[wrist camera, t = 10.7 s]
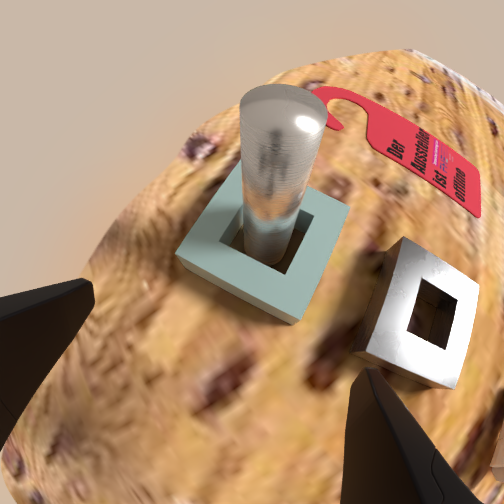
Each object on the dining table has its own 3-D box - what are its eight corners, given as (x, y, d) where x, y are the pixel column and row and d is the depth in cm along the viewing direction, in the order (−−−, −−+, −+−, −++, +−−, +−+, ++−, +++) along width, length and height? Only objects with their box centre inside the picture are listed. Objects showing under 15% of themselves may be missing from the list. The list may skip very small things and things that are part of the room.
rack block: (292, 325, 19) (300, 320, 16) (184, 267, 20) (174, 253, 17) (338, 225, 22) (350, 206, 19) (242, 180, 23) (242, 157, 20)
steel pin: (263, 274, 20) (284, 149, 8) (235, 244, 21) (221, 102, 9) (294, 248, 21) (344, 114, 9) (266, 220, 22) (283, 76, 9)
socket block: (432, 388, 16) (454, 389, 14) (349, 352, 18) (365, 351, 15) (458, 294, 19) (479, 285, 16) (386, 251, 21) (403, 236, 18)
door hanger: (480, 220, 22) (294, 111, 27) (478, 222, 23) (293, 114, 27) (479, 170, 25) (322, 79, 30) (477, 172, 26) (321, 82, 30)
